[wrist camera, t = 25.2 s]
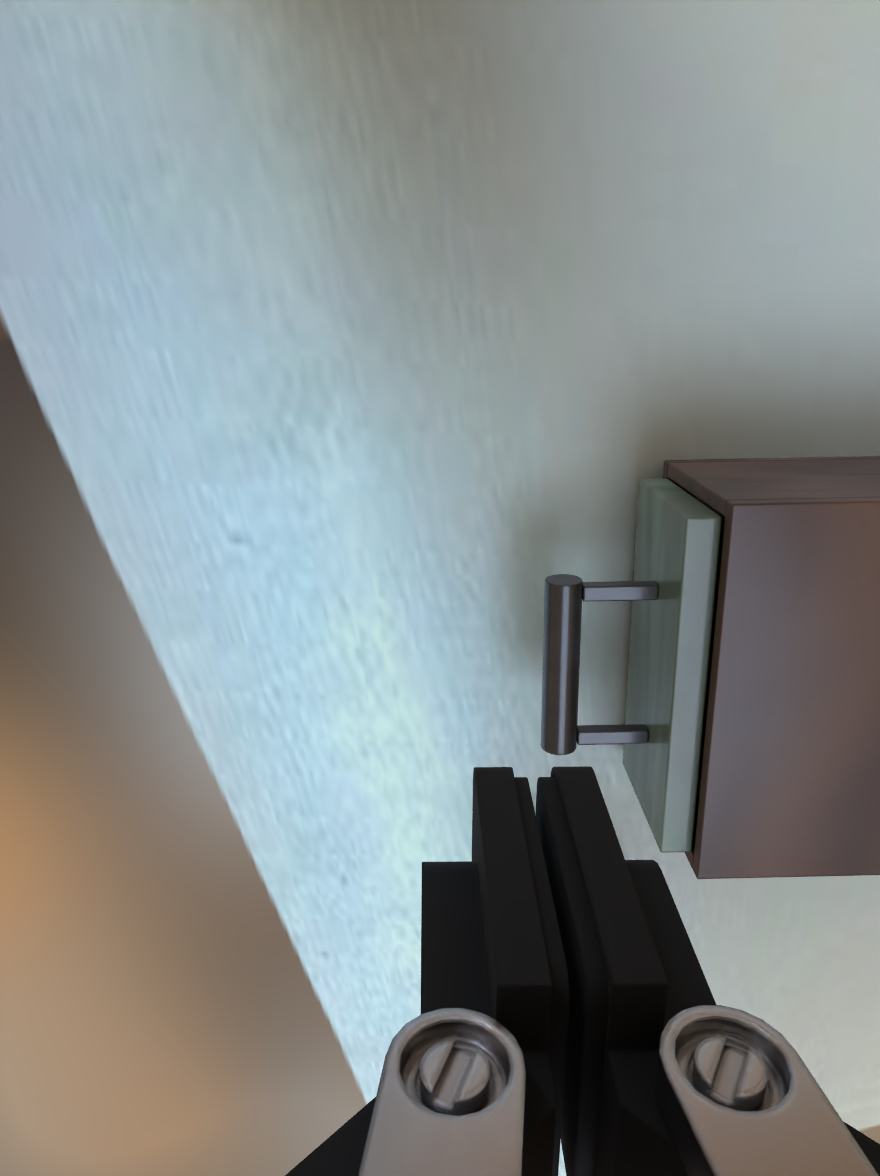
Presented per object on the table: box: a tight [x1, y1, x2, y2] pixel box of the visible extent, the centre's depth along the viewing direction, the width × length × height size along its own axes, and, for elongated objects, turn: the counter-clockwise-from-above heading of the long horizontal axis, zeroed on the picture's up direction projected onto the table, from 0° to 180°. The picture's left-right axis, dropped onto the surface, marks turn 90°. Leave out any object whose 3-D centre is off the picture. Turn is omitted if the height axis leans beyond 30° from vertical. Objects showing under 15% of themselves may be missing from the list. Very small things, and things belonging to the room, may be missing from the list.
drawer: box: [541, 479, 725, 852], centre depth 33 cm, size 18×13×7 cm
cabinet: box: [663, 456, 880, 879], centre depth 33 cm, size 14×14×8 cm
